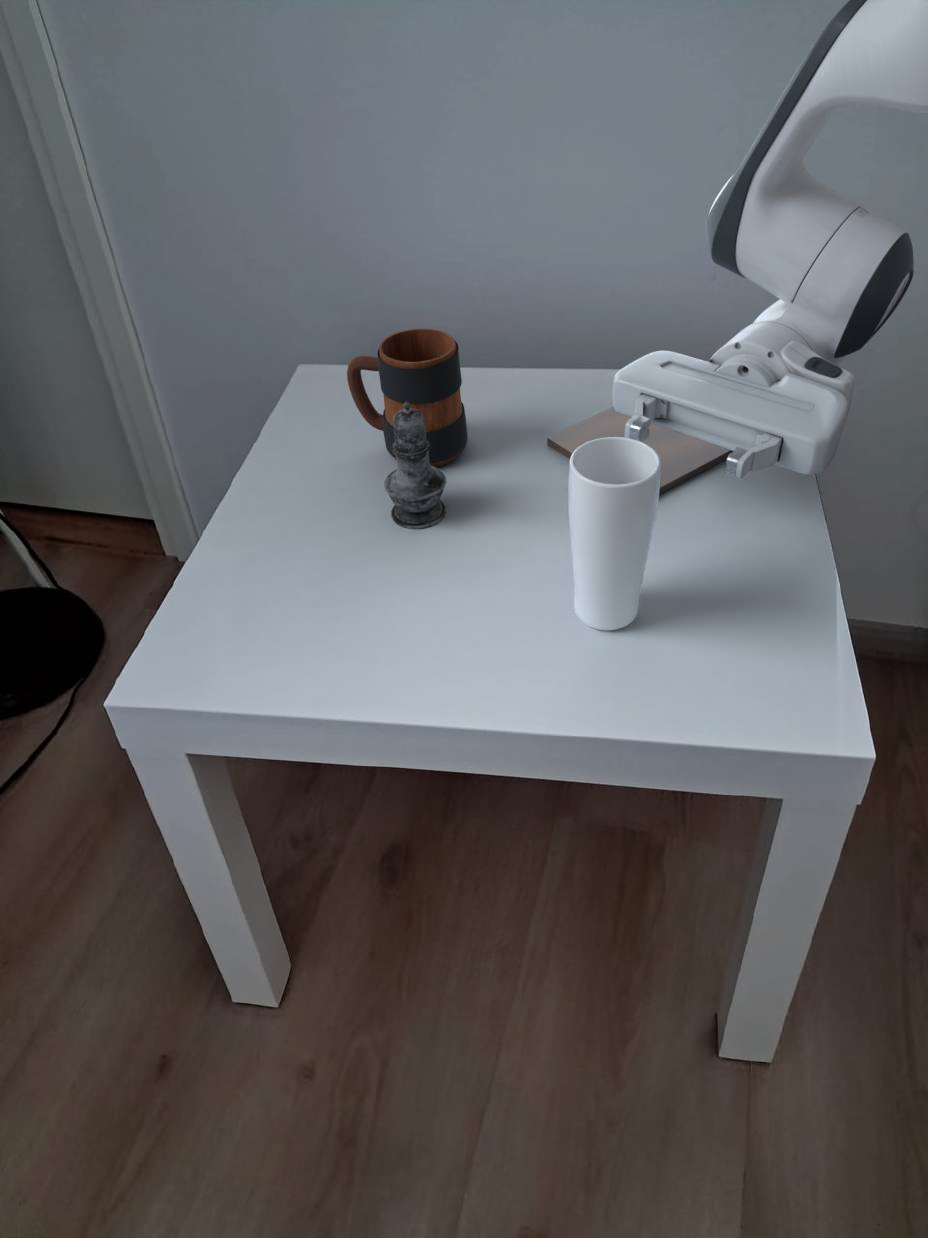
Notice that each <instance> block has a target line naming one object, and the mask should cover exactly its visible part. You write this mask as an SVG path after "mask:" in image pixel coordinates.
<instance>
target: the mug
mask: <svg viewBox="0 0 928 1238" xmlns="http://www.w3.org/2000/svg"><path fill="white" fill-rule="evenodd" d="M362 371H370V372H378V376H379V383H380V390H381V392H382V394H383V395H382V396H383V403H384V409H383V412H382V414H381V413H380V412H378V411H377V409H376V408H375V406H374V405H373V403H372V402H371V399H370V396H369V395H368V393H367V390H366V388H365V385H364V382H363V377H362ZM346 379H347V385H348V388H349V392H350V394H351V397H352V400H353V402H354V404H355V406H356V408H357V409H358V412H359V413H360V415H361V416H362V418H363V419H364V420H365V421H366V422H367V424H369V426H371V427H373V428H374V429H376V430H378V431H381V432H383V437H384V443H385V448H386V451H387V452H388V453H389V455H390V456H392V458H394V461H396V455H395V454H394V453H393V452H392V445H393V444H394V443H395V438H394V429H393V417H394V415H395V414H396V413H397V412H398V411H400V410H402V409H404V407H403V405H404V404H405V403H406V402H408V403H409V404H410V405H411V406H410V408H414V409H417V410H419V411H420V412H421V413H422V414H423V415H424V419H425V429H426V439H427V440H429V441H430V443H431V449H430V451H429V462H430V466H434V467H436V468H438V467H442V466H445V465H447V464H450V463H451V462H453V461H455V460H456V459H458V458H459V457H460V456H461V454H462V452H463V451H464V449H465V448H466V446H467V443H468V440H469V439H468V438H469V437H468V424H467V423H468V422H467V417H466V411H465V410H466V409H465V404H464V403H463V402H462V396H461V387H462V384H463V382H462V381H463V379H462V371H461V362H460V351H459V344H458V342H457V341H456V340H455V338H454V337H453V336H452V335H450V334H449V333H447V332H446V331H442V330H439V329H433V328H412V329H406V330H401V331H398V332H395V333H393V334H391V335H389V336H387V337H386V338H384V339H383V340H382V341H381V342H380V344H379V346H378V349H377V356H371V355H357V356H355V357H354V358H352V359H351V360H350V361H349V363H348V365H347V370H346Z"/></svg>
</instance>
